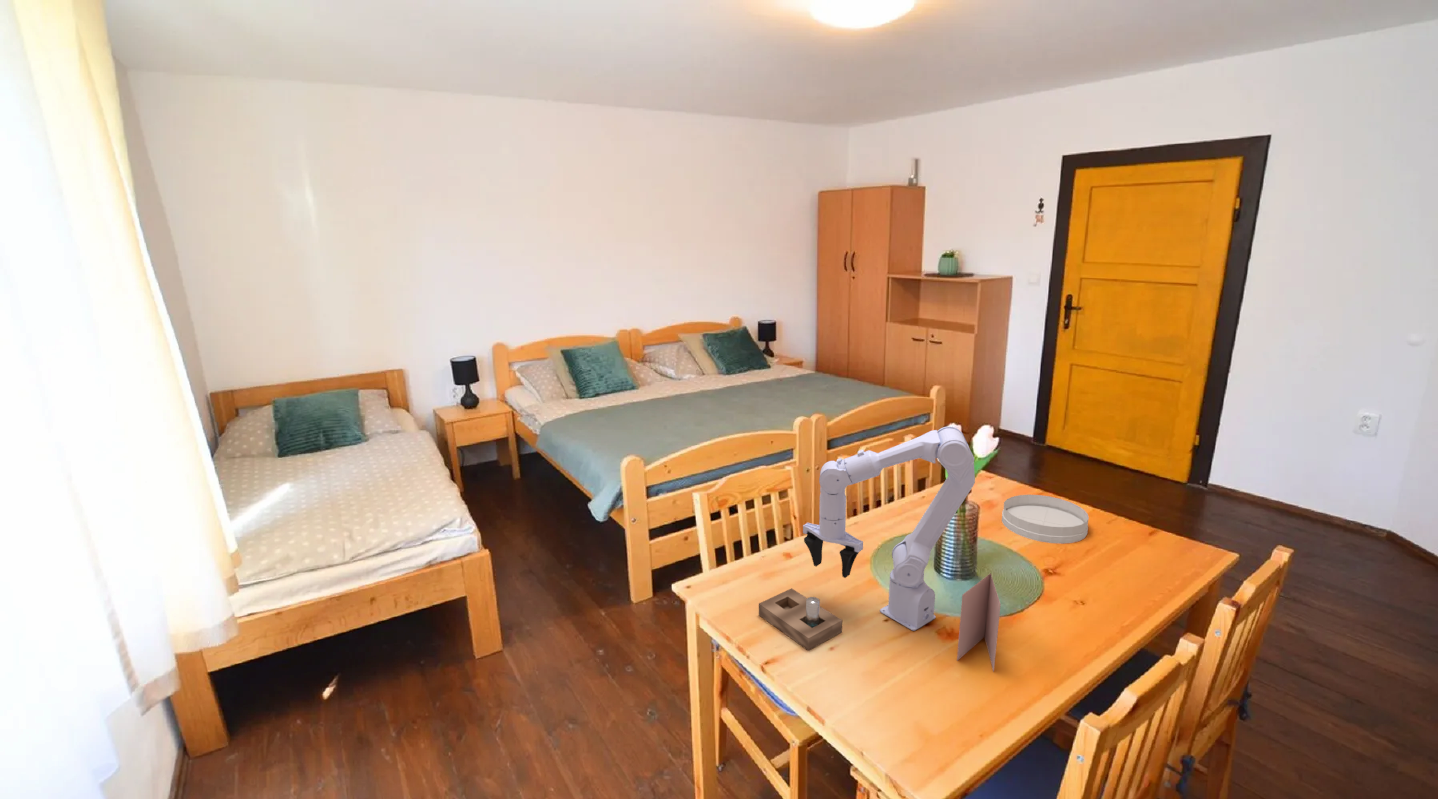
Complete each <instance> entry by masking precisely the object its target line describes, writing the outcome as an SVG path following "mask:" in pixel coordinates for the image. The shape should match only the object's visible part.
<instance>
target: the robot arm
mask: <svg viewBox="0 0 1438 799" xmlns="http://www.w3.org/2000/svg"><path fill="white" fill-rule="evenodd" d="M917 459H922V460H924V461H927V462H928V463H929V462H930V463H931V464H936V459H937V460H938V462H939V463H940V464H941V466H942V467H943V468H944V469H945V470H946V473H947V477H946V479H945V481H944V482H943V484H942V485H941V487H940V488H939V490H938V491H937V493H936V495H934V498H933V499H932V501H931V502H930V504H929V506H928V507H927V508H926V510H925V512H924V513H923V515H922V517H921V518H920V519H919V522H918V523H917V524H916V526H915V528H914V529H913V530H912V532H911V533H909V534H907V535H905V537H904V539H903V540H902V541H901V542H899V543H897V544H895V546H894V547H893V549H892V550H891V559H892V562H893V563H892V564H893V568H892V570H891V571H890V572H889V583H888V584H889V587H888V588H889V589H888V604H887V605H885V606H883V607H881V608H880V609H879V613H881V614H883V615H885V616H886V617H888V618H890V619H891V620H893V621H896V622H897V623H899V624H900V625H902V626H904V627H906V628H907V629H908V630H911V631H914V632H915V631H916V630H919V629H920V628H922V627H923V626H925V625H927V624H928V623H930V622H932V621H934V620H935V619H936V615H935V614H934V613H935V602H936V593H935V590H934V589H933V588H931V587H930V586H929V585H928V584H927V583H926V581H925V580H924V579H925V570H926V567H927V566H928V564H929V562H930V561H929V560H930V557H931V552H932V549H933V548H934V546H936V544H937V542H938V540H939V539H940V538H941V536H942V535H943V533H944V531H945V530H946V528H947V527H948V525H949V524H950V522H951V520H952V519H953V517H954V516H955V514H956V512H958V510H959V508H960V507H961V506H962V504H963V502H964V501H965V500H966V498H967V496H968V494H970V492H971V489H972V488H974V485H975V482H976V476H975V475H976V474H975V457H974V455H973V452H972V450H971V449H970V447H969V444H968V442H967V440H966V437H965V436H964V433H963V432H962V430H960V429H959V428H957V427H956V426H955V427H954V426H950V425H949V426H944V427H941V428H940V429H938V430H937V429H934V430H930V431H928V432H926V433H923V434H922V435H920V436H918V437H914V438H913V439H910V440H907V441H905V442H902V443H900V444H897V445H894V446H891V447H889V448H887V449H885V450H881V451H880V452H875V451H872V450H870V449H869V450H866V451H865V450H864V449H860V450H858V451H857V454H854V455H851V456H848V457H846V458H844V459H842V458H837V459H836V461H835V460H828V461H827V462H825V463H824V464H823V465H822V467H821V469H820V471H819V479H818V480H819V485H820V487H819V488H820V489H819V491H820V494H819V521H818V522H819V524H815V523H812V522H811V523H810V522H806V523H805V524H803V525H802V533H803V534H804V535H806V536H805V537H804V538H803V542H804V544H805V545H806V547H807V549H808V551H809V553H810V556H811V560H812V564H813V566H814V567H816V568H817V567H818V566H820V565H821V564H822V561H823V560H822V559H823V545H824V542H826V543H831V544H836V545H841V546H844V548H843V549H841V550H839V555H840V559H841V576H842V578H844V579H846V578H847V577H849V576H850V575H851V572H852V567H853V565H854V563H855V560H856V558H857V556H858V555H859V553H860V552H861V551H863V549H864V541H863V540H861V539H859V538H856V537H855V536H853V534H850V533H848V532H847V531H846V527H847V526H846V525H847V523H846V520H847V519H846V518H847V516H846V514H847V513H846V512H847V496H846V488H847V487H848V486H852V485H854V484H859V483H860V482H864V481H866V480H867V481H868V480H871V479H872V478H873V479H874V478H876V477H879V476H880V474H881V472H882V471H883V469H884V468H888V467H892V466H896V465H899V464H903V463H906V462H910V461H914V460H917Z"/></svg>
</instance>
